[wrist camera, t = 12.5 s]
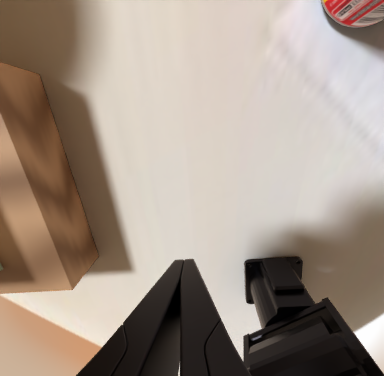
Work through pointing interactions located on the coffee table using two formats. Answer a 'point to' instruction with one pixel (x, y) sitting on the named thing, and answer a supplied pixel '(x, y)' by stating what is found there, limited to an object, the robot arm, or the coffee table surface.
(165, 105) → the coffee table surface
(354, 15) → the soda can
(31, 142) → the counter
